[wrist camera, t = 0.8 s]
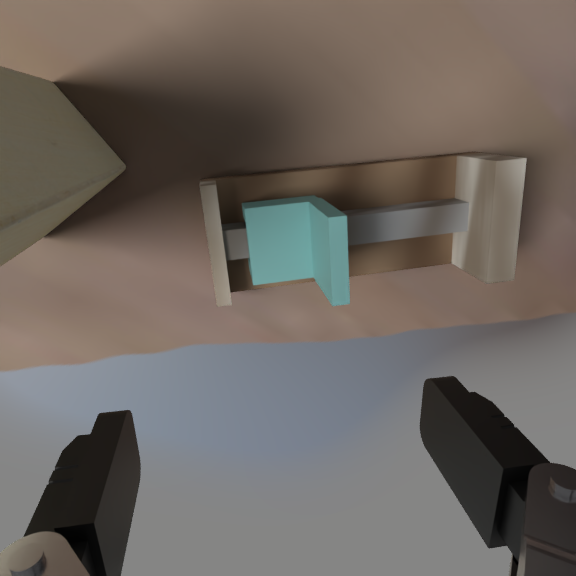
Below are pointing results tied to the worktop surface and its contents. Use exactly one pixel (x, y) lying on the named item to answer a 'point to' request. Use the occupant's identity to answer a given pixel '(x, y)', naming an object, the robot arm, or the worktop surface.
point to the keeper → (299, 244)
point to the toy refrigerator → (44, 160)
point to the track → (351, 196)
